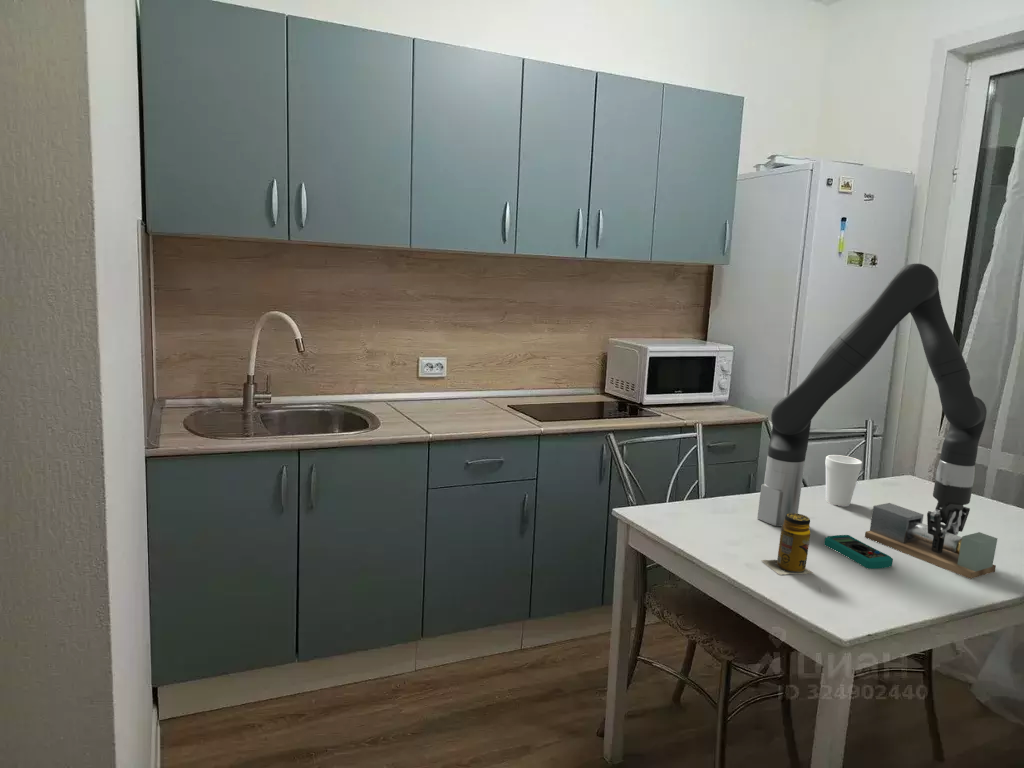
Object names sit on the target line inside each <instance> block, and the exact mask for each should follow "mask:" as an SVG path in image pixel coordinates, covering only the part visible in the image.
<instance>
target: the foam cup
mask: <svg viewBox="0 0 1024 768" xmlns="http://www.w3.org/2000/svg"><path fill="white" fill-rule="evenodd" d="M824 463H825V464H824V465H825V501H827V502H826V503H828V504H829V503H830V505H832V504H833V506H836V505H838V506H837V507H849V506H850V504H851V502H852V500H853V499H852V498H853V495H854V491H855V489H856V484H857V482H858V480H859V479H858V478H859V475H860V471H862V465H863V461H862V460H860V459H857V458H855V457H852V456H848V455H840V454H829V455H827V456H825V461H824Z"/></svg>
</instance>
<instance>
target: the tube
mask: <svg viewBox="0 0 1024 768" xmlns="http://www.w3.org/2000/svg"><path fill="white" fill-rule="evenodd" d="M933 528H934V527H933ZM941 532H942V529H941ZM907 535H908V536H910V537H913V538H916V539H918V540H921V541H924V542H927V543H929V544H932V542H933V535H931V534H928V524H925V523H923V522H922V523H920V522H917V521H914V520H910V521H909V525H908V531H907ZM944 539H945V540H944V545H943V549H945V550H948V551H951V552H953V553H956V554H959V552H960V547H961V541H962V536H959V535H954V534H951V533H948V532H946V535H945V537H944Z"/></svg>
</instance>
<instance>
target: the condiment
mask: <svg viewBox="0 0 1024 768" xmlns="http://www.w3.org/2000/svg"><path fill="white" fill-rule="evenodd" d="M810 522H811V519H810V517H808V516H807V515H804V514H800V513H798V514H797V513H788V514H786V516H785V520H784V525H783V526H781V528H780V537H779V544H778V550H777V551H778V552H777V559H761V562H763V564H764V565H766V566H767V567H768V568H769V569H770V570H772V571H774V572H775V573H777V574H778V575H779V576H781V575H785V576H786V575H808V574H809V575H810V574H814V572H813V571H812V570H810V569H808V568H807V567H806V566H807V559H808V554H809V547H810V546H809V545H810V537H811V530H810V528H811V527H810V525H811V523H810Z"/></svg>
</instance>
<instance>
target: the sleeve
mask: <svg viewBox="0 0 1024 768" xmlns="http://www.w3.org/2000/svg"><path fill="white" fill-rule="evenodd" d="M910 520H914V521H917V522H920V523H923V521H924V513H920V512H917V511H916V510H915V511H914V510H912V509H908V508H906V507H903V506H899V505H897V504H894V503H891V502H886V503H882V504H876V505H873V507H872V513H871V520H870V525H869V527H870V528H869V531H872V532H874V533H877V534H879V535H882V536H885V537H887V538H890V539H893V540H895V541H898V542H900V543H903V544H904V543H909V542H913V541H917V540H918V539H916V538H913V537H910V536H908V535H907V531H908V525H909V521H910Z"/></svg>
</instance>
